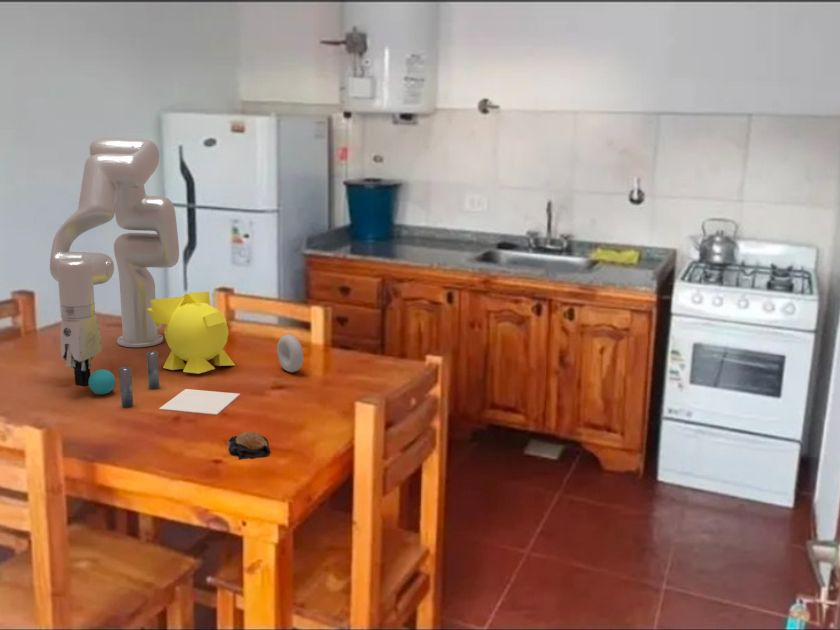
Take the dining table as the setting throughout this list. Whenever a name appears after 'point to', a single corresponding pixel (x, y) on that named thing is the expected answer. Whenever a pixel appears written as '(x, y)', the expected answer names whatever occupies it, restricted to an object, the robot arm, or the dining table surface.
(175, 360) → the piggy bank
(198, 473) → the dining table surface
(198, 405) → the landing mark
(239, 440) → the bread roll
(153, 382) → the post
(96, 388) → the ball
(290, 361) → the donut
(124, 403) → the post
